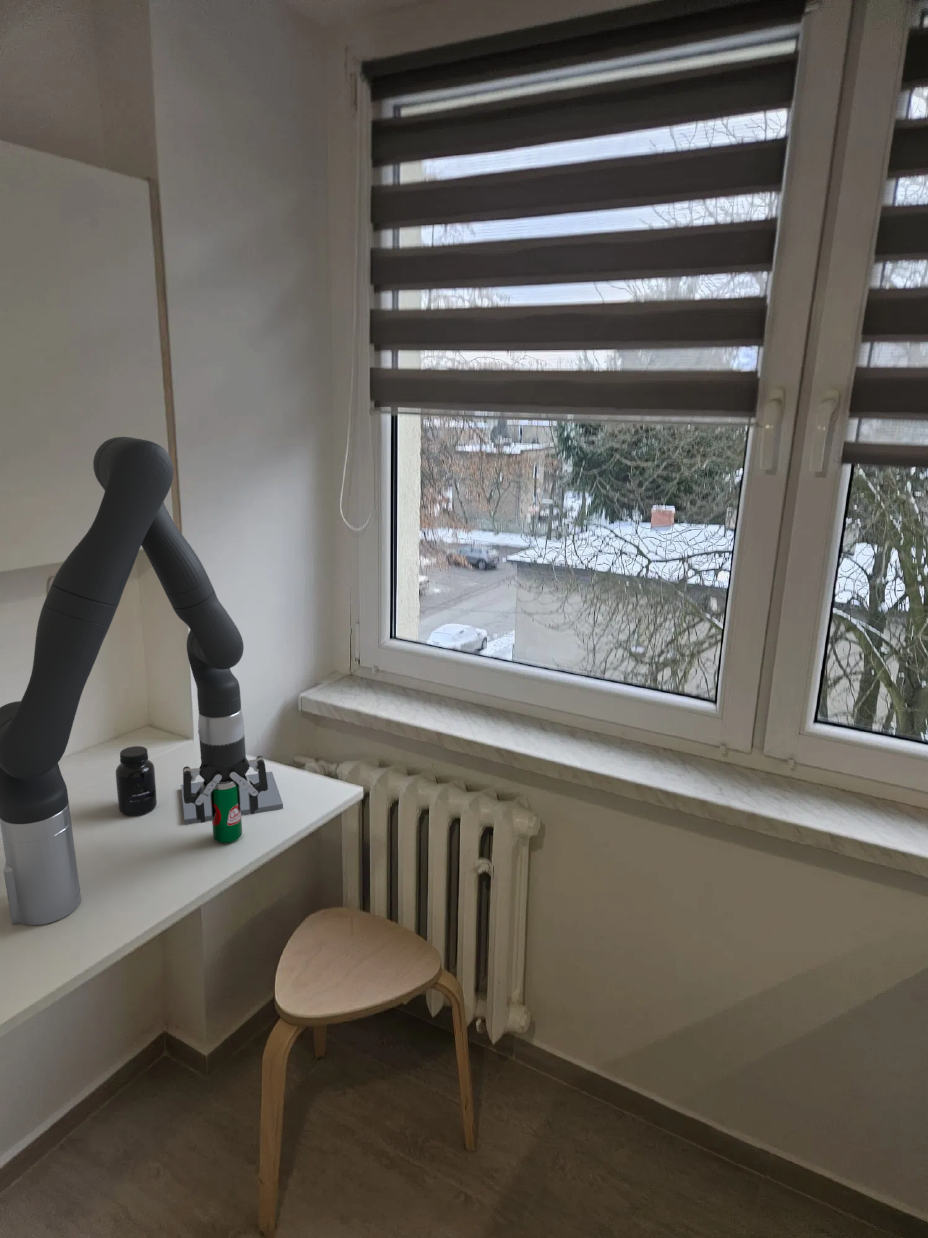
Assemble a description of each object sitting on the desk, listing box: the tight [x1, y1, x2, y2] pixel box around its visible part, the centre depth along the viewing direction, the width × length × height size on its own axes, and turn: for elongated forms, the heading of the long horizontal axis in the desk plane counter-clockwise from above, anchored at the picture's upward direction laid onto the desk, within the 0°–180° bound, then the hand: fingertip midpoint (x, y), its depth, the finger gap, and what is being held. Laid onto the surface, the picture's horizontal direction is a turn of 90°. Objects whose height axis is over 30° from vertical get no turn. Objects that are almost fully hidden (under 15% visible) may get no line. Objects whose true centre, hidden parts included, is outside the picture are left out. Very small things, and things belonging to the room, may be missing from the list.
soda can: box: [210, 780, 243, 845], centre depth 140 cm, size 5×5×12 cm
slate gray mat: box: [180, 771, 284, 825], centre depth 154 cm, size 18×14×1 cm
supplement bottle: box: [115, 745, 158, 817], centre depth 148 cm, size 7×7×12 cm
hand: (228, 816), depth 140 cm, fingers open, 8 cm apart
